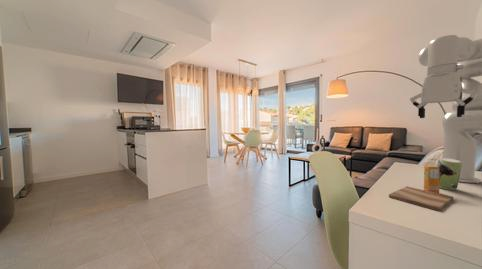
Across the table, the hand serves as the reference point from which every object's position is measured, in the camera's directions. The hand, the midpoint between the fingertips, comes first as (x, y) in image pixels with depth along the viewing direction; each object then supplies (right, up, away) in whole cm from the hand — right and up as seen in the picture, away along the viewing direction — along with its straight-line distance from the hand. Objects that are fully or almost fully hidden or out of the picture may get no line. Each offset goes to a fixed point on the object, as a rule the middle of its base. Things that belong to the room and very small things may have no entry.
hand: (439, 117), depth 68 cm
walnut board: (-14, -28, -7) cm, 32 cm away
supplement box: (-5, -28, -1) cm, 29 cm away
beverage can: (+6, -28, +3) cm, 29 cm away
